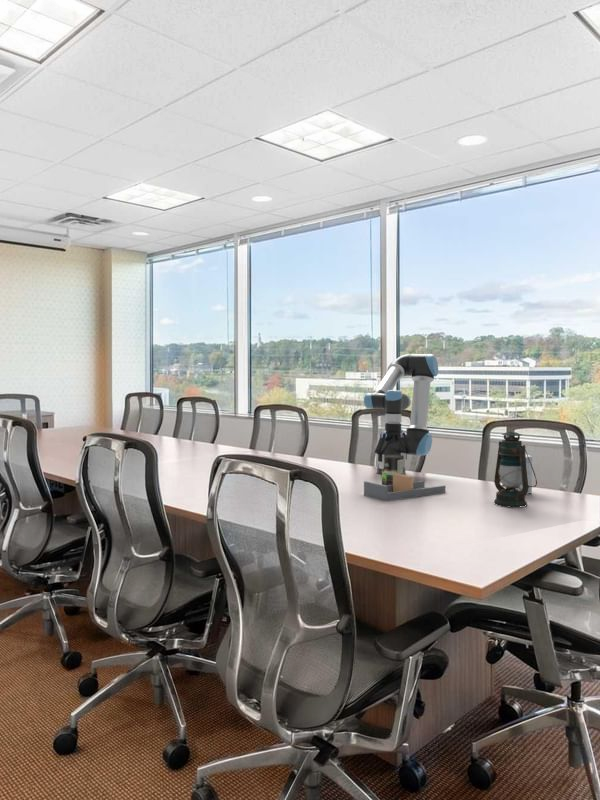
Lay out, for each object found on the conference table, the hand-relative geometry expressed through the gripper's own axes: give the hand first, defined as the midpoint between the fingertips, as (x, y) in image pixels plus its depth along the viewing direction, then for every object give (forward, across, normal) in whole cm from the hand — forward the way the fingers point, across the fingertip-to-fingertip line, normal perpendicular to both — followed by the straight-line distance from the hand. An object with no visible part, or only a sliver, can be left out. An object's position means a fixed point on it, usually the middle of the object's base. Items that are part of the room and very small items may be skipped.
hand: (392, 467), depth 292 cm
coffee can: (+9, 0, 0) cm, 9 cm away
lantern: (+9, -14, +57) cm, 59 cm away
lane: (+9, +8, +18) cm, 21 cm away
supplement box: (+8, -38, +42) cm, 57 cm away
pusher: (+9, +10, +18) cm, 22 cm away
